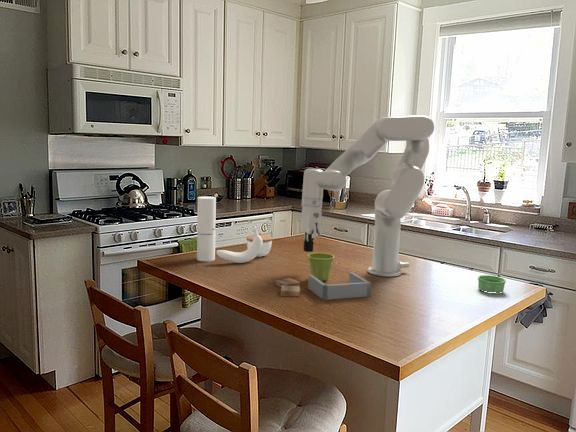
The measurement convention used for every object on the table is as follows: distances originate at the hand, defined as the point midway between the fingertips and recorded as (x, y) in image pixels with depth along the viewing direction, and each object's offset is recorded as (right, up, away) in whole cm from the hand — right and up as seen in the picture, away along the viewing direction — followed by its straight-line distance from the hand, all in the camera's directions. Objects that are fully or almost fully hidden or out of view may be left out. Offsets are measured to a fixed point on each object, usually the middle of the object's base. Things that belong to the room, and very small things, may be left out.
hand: (308, 251), depth 194 cm
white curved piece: (-26, -6, +12) cm, 29 cm away
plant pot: (+4, -10, -8) cm, 13 cm away
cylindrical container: (-40, -4, +15) cm, 43 cm away
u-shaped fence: (+9, -12, -22) cm, 26 cm away
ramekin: (+63, -13, -14) cm, 65 cm away
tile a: (-8, -11, -17) cm, 22 cm away
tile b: (-7, -12, -25) cm, 29 cm away
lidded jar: (-20, -4, +26) cm, 33 cm away
